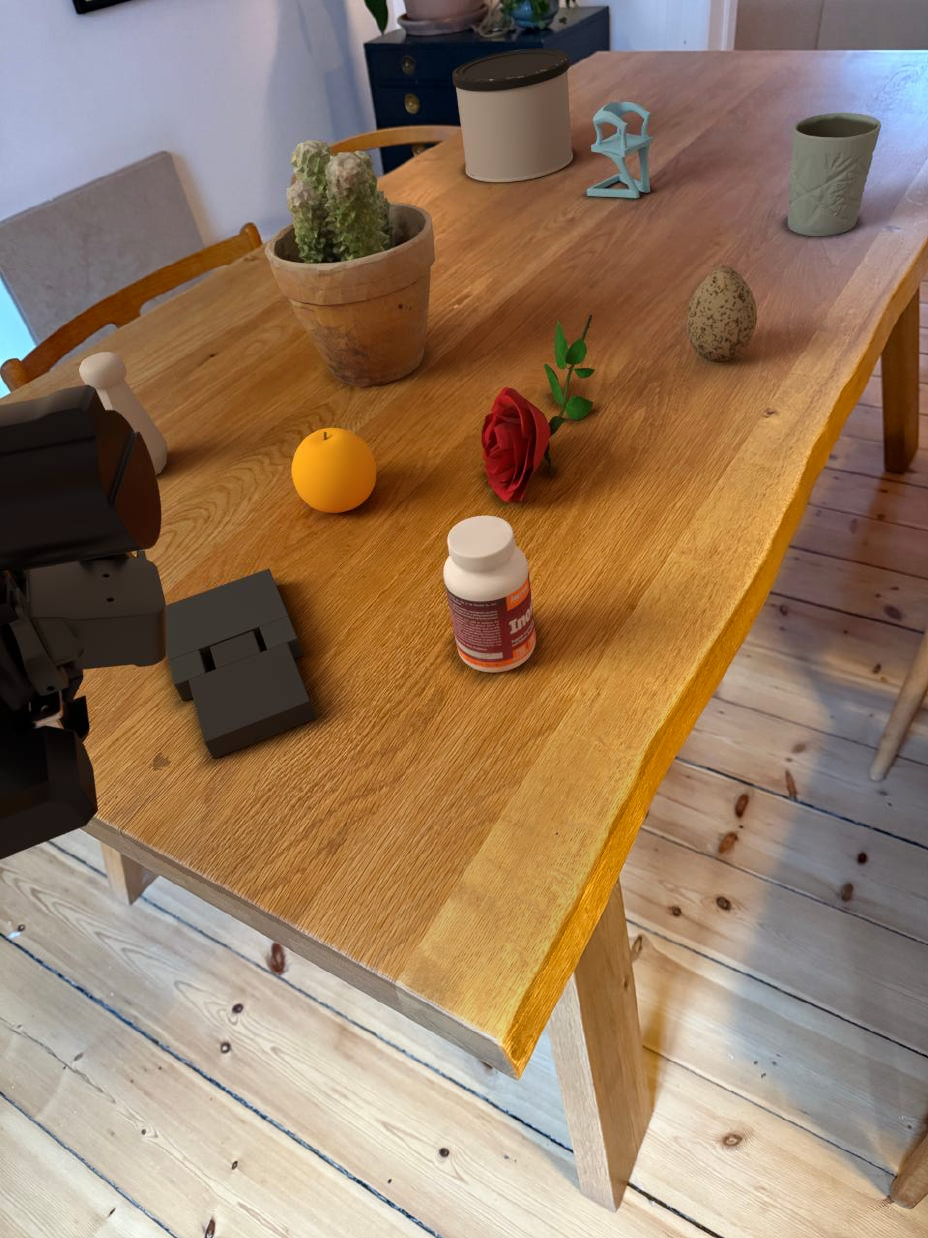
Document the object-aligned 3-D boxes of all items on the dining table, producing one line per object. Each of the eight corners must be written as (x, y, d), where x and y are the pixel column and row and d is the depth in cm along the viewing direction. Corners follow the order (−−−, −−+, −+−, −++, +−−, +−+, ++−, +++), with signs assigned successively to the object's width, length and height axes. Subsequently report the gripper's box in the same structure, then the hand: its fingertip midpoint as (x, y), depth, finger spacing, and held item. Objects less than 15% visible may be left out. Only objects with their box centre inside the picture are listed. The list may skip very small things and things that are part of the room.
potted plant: (272, 376, 108) (202, 155, 91) (385, 314, 116) (340, 101, 99) (369, 419, 97) (311, 179, 80) (485, 348, 106) (455, 116, 89)
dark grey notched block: (183, 701, 70) (173, 684, 69) (164, 625, 77) (156, 608, 76) (304, 655, 72) (297, 638, 70) (275, 585, 79) (269, 567, 78)
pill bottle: (530, 678, 67) (516, 566, 59) (450, 673, 68) (426, 563, 61) (542, 620, 71) (530, 509, 63) (466, 617, 72) (446, 508, 65)
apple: (292, 526, 85) (270, 460, 80) (313, 478, 91) (294, 413, 85) (373, 524, 83) (356, 456, 78) (390, 475, 89) (374, 409, 84)
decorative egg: (754, 373, 93) (762, 280, 87) (684, 375, 95) (687, 283, 88) (752, 340, 98) (760, 250, 92) (685, 342, 100) (688, 254, 93)
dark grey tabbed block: (213, 759, 65) (203, 742, 64) (191, 673, 72) (182, 656, 71) (316, 718, 67) (310, 700, 65) (285, 638, 74) (278, 620, 72)
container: (525, 188, 144) (516, 83, 134) (442, 175, 155) (428, 77, 144) (596, 150, 153) (592, 49, 143) (513, 140, 163) (504, 45, 153)
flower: (560, 257, 94) (476, 432, 76) (640, 297, 94) (575, 480, 76) (529, 325, 101) (445, 500, 83) (604, 362, 101) (537, 543, 83)
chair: (627, 204, 133) (626, 115, 125) (585, 195, 138) (582, 109, 130) (660, 186, 136) (661, 99, 128) (618, 178, 141) (617, 94, 133)
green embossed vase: (776, 214, 123) (785, 118, 114) (852, 204, 121) (867, 106, 113) (792, 242, 115) (804, 141, 107) (874, 232, 114) (892, 130, 106)
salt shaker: (181, 452, 98) (135, 341, 89) (163, 482, 94) (114, 370, 85) (132, 455, 99) (82, 346, 90) (112, 485, 95) (58, 374, 86)
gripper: (139, 641, 33) (262, 864, 44) (96, 421, 46) (198, 634, 57) (-175, 756, 31) (33, 962, 42) (-127, 491, 44) (22, 699, 55)
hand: (84, 790), depth 49 cm, fingers closed
